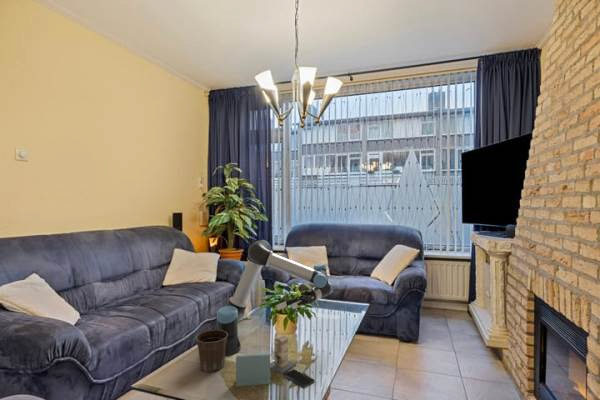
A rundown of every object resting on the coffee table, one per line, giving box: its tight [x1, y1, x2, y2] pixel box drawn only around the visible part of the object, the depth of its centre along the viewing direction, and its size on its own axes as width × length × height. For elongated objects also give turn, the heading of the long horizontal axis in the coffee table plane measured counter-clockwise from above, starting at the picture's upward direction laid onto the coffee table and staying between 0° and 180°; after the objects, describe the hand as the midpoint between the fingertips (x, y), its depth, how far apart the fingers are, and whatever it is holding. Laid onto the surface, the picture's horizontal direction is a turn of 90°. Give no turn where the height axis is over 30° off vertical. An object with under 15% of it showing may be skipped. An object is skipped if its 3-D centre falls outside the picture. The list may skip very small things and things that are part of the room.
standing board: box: [235, 353, 271, 387], centre depth 163 cm, size 5×16×13 cm, turn 97°
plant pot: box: [195, 329, 228, 373], centre depth 178 cm, size 16×16×16 cm
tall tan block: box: [274, 334, 289, 368], centre depth 178 cm, size 5×5×14 cm
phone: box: [282, 368, 315, 389], centre depth 166 cm, size 8×1×15 cm
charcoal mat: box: [270, 360, 297, 375], centre depth 178 cm, size 11×11×1 cm
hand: (284, 307), depth 186 cm, fingers open, 13 cm apart
